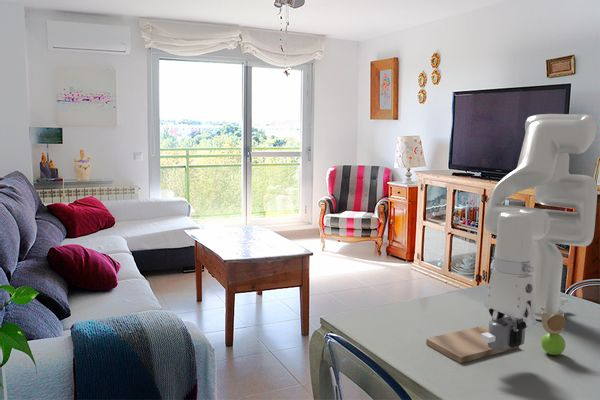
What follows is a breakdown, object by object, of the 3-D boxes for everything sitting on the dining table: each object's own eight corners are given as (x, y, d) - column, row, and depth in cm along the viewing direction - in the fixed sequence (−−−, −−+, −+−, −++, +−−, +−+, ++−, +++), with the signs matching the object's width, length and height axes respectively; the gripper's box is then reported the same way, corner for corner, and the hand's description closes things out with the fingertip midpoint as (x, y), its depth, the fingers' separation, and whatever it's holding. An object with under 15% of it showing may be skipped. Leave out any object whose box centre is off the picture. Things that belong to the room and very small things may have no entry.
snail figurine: (532, 349, 132) (536, 304, 130) (556, 349, 133) (560, 303, 131) (543, 359, 127) (548, 311, 125) (569, 358, 127) (573, 311, 126)
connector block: (514, 336, 126) (515, 314, 125) (528, 342, 122) (529, 320, 121) (477, 346, 120) (478, 323, 119) (491, 353, 117) (492, 329, 116)
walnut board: (482, 330, 144) (483, 325, 143) (519, 347, 133) (519, 342, 133) (426, 344, 134) (426, 338, 134) (460, 363, 124) (460, 357, 124)
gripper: (556, 273, 113) (549, 353, 116) (495, 255, 128) (490, 326, 131) (532, 278, 110) (525, 360, 113) (472, 259, 125) (468, 332, 127)
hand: (506, 341), depth 122 cm, fingers closed on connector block, 4 cm apart
